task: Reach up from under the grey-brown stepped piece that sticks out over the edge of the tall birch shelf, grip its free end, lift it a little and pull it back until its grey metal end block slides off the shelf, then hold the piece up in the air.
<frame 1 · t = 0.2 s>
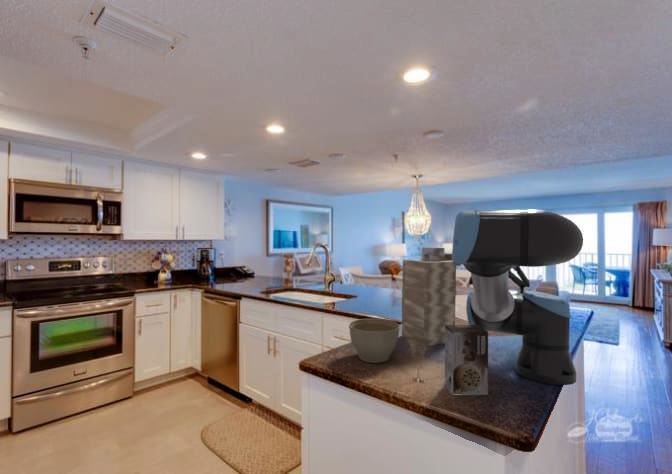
hand: (498, 298, 131), 16 cm above the countertop, tool tilted 35°, fingers open, 13 cm apart
birch shelf: (429, 338, 133), on the countertop
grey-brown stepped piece: (446, 260, 137), point 30 cm above the countertop, touching birch shelf
planter bowl: (373, 358, 111), on the countertop
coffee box: (465, 390, 89), on the countertop
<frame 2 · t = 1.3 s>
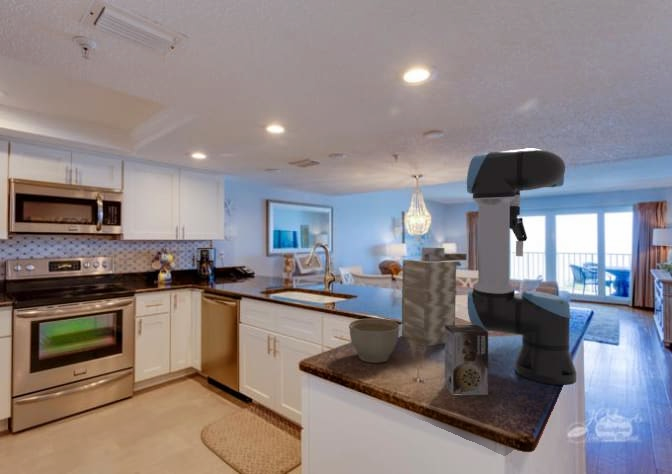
hand: (509, 256, 144), 31 cm above the countertop, tool pointing down, fingers open, 13 cm apart
nothing on the countertop moved.
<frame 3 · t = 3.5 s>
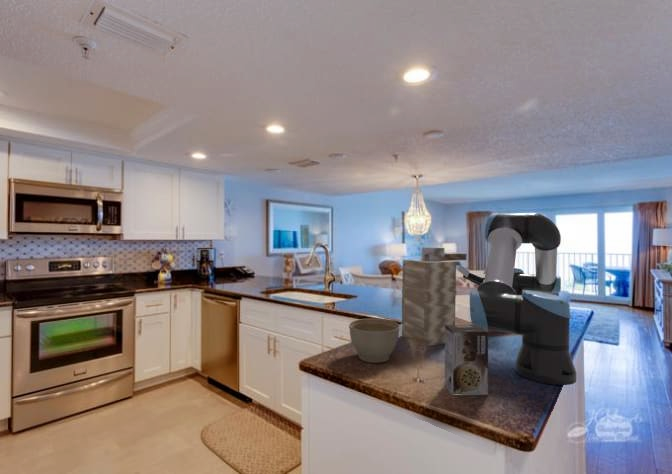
hand: (471, 268, 144), 26 cm above the countertop, tool pointing upward, fingers open, 13 cm apart
nothing on the countertop moved.
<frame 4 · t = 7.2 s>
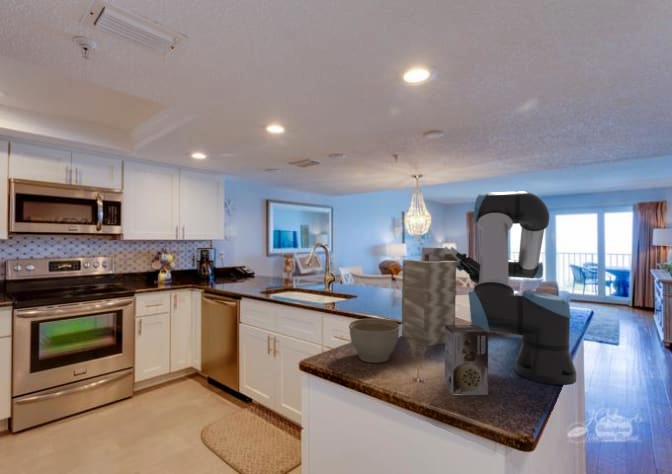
hand: (447, 250, 137), 34 cm above the countertop, tool pointing upward, fingers closed on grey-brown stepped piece, 2 cm apart
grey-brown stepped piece: (445, 260, 137), point 30 cm above the countertop, touching gripper
everything else where it was.
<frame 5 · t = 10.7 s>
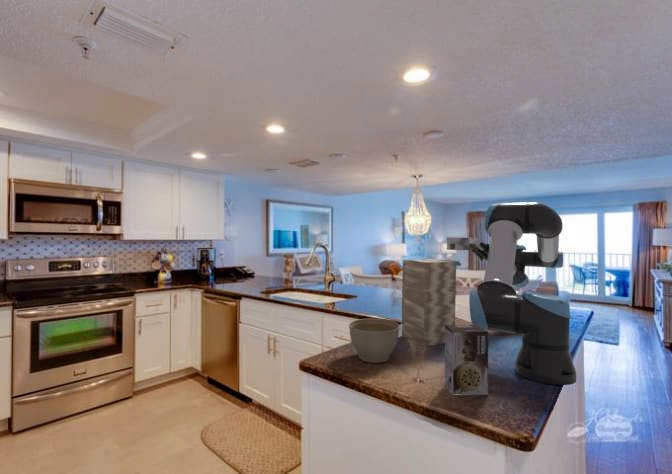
hand: (471, 239, 143), 38 cm above the countertop, tool pointing upward, fingers closed on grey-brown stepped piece, 2 cm apart
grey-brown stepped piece: (469, 249, 143), point 34 cm above the countertop, touching gripper
everything else where it was.
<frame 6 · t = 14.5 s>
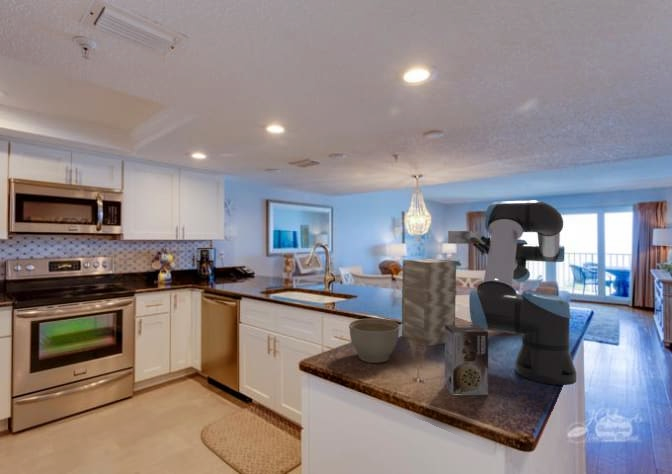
hand: (472, 233, 144), 41 cm above the countertop, tool pointing upward, fingers closed on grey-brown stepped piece, 2 cm apart
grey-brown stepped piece: (471, 243, 143), point 37 cm above the countertop, touching gripper
everything else where it was.
at the end: the gripper is holding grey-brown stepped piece; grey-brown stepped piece touching gripper; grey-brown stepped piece moved 15.5 cm from its start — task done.
